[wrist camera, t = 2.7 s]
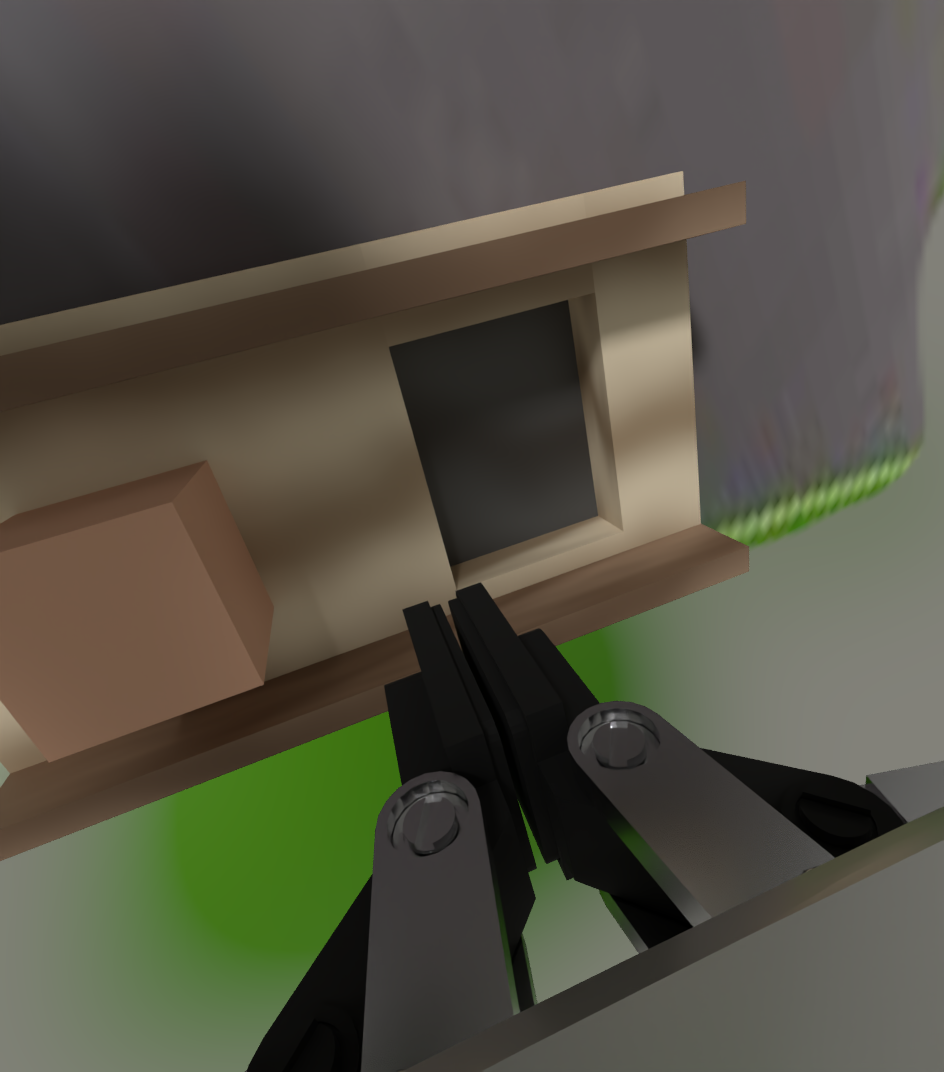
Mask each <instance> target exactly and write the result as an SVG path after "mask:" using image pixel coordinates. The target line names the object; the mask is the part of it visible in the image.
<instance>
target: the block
mask: <svg viewBox="0 0 944 1072" xmlns="http://www.w3.org/2000/svg"><path fill="white" fill-rule="evenodd" d="M273 612H274V606H273V604H272V602H271V599H270V597H269V595H268V593H267V591H266V588H265V586H264V584H263V582H262V580H261V577H260V575H259V573H258V571H257V569H256V566H255V564H254V562H253V560H252V558H251V555H250V553H249V551H248V549H247V547H246V545H245V542H244V540H243V538H242V536H241V534H240V531H239V529H238V527H237V525H236V523H235V520H234V518H233V516H232V514H231V512H230V509H229V507H228V505H227V503H226V501H225V498H224V496H223V494H222V492H221V490H220V488H219V485H218V483H217V481H216V479H215V477H214V474H213V472H212V470H211V468H210V466H209V463H208V461H207V460H206V461H202V462H199V463H195V464H192V465H188V466H185V467H181V468H178V469H174V470H171V471H167V472H164V473H160V474H157V475H153V476H149V477H146V478H142V479H139V480H135V481H132V482H128V483H125V484H121V485H118V486H114V487H111V488H107V489H104V490H100V491H97V492H93V493H90V494H86V495H83V496H79V497H76V498H72V499H68V500H65V501H61V502H58V503H54V504H51V505H47V506H44V507H40V508H37V509H33V510H30V511H26V512H23V513H19V514H16V515H14V516H12V517H10V518H9V519H7V520H5V521H4V522H2V523H0V701H1V702H2V703H3V705H4V706H5V707H6V708H7V710H8V711H9V712H10V714H11V715H12V716H13V717H14V719H15V720H16V721H17V722H18V724H19V725H20V726H21V728H22V729H23V730H24V731H25V733H26V734H27V735H28V737H29V738H30V739H31V740H32V742H33V743H34V744H35V745H36V747H37V748H38V749H39V751H40V752H41V753H42V754H43V756H44V757H45V758H46V760H47V761H48V762H52V761H55V760H58V759H60V758H63V757H66V756H69V755H71V754H74V753H77V752H80V751H82V750H85V749H88V748H91V747H93V746H96V745H99V744H102V743H104V742H107V741H110V740H113V739H115V738H118V737H121V736H124V735H126V734H129V733H132V732H135V731H138V730H140V729H143V728H146V727H149V726H151V725H154V724H157V723H160V722H162V721H165V720H168V719H171V718H173V717H176V716H179V715H182V714H184V713H187V712H190V711H193V710H195V709H198V708H201V707H204V706H206V705H209V704H212V703H215V702H217V701H220V700H223V699H226V698H228V697H231V696H234V695H237V694H240V693H242V692H245V691H248V690H251V689H253V688H256V687H259V686H262V685H264V679H265V672H266V664H267V657H268V649H269V642H270V634H271V627H272V619H273Z"/></svg>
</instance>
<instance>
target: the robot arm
mask: <svg viewBox="0 0 944 1072" xmlns="http://www.w3.org/2000/svg"><path fill="white" fill-rule="evenodd" d="M456 597H457V598H455V599H452V600H449V601H448V604H449V608H450V612H451V615H452V618H453V622H454V625H455V629H456V632H457V635H458V639H459V642H460V646H461V648H460V646H459V643H458V641H457V639H456V637H455V635H454V633H453V630H452V628H451V626H450V624H449V622H448V620H447V617H446V615H445V613H444V611H443V609H442V607H441V605H440V604H438V605H435V606H432V607H430V605H429V602H428V601H425V602H422V603H419V604H416V605H413V606H411V607H408V608H405V609H402V611H403V614H404V617H405V620H406V624H407V627H408V630H409V633H410V637H411V640H412V643H413V647H414V650H415V653H416V656H417V660H418V663H419V666H420V669H421V672H418V673H416V674H413V675H410V676H407V677H405V678H402V679H399V680H396V681H394V682H391V683H388V684H386V685H384V689H385V695H386V701H387V706H388V712H389V717H390V723H391V728H392V734H393V739H394V744H395V750H396V756H397V761H398V767H399V772H400V778H401V783H402V786H401V787H399V788H398V789H397V790H396V791H395V792H394V793H393V794H392V795H391V797H390V798H389V799H388V800H387V801H386V803H385V805H384V806H383V808H382V810H381V812H380V814H379V816H378V821H377V826H376V829H375V843H374V860H373V874H372V875H371V877H370V879H369V880H368V881H367V883H366V884H365V886H364V887H363V889H362V890H361V892H360V893H359V895H358V896H357V898H356V899H355V901H354V902H353V904H352V905H351V907H350V908H349V910H348V911H347V913H346V914H345V916H344V917H343V919H342V921H341V922H340V923H339V925H338V927H337V928H336V930H335V931H334V932H333V934H332V936H331V937H330V939H329V940H328V942H327V943H326V945H325V946H324V948H323V949H322V951H321V952H320V954H319V955H318V957H317V958H316V960H315V961H314V963H313V964H312V966H311V967H310V969H309V970H308V972H307V973H306V975H305V976H304V978H303V979H302V981H301V982H300V984H299V985H298V987H297V988H296V990H295V991H294V993H293V994H292V996H291V997H290V999H289V1000H288V1002H287V1003H286V1005H285V1006H284V1008H283V1009H282V1011H281V1012H280V1014H279V1015H278V1017H277V1018H276V1020H275V1022H274V1023H273V1025H272V1026H271V1027H270V1029H269V1031H268V1032H267V1034H266V1035H265V1037H264V1038H263V1040H262V1042H261V1044H260V1045H259V1047H258V1049H257V1051H256V1053H255V1055H254V1057H253V1058H252V1060H251V1062H250V1064H249V1066H248V1069H247V1070H246V1071H245V1072H944V761H941V762H935V763H929V764H925V765H919V766H914V767H908V768H903V769H898V770H892V771H887V772H882V773H877V774H871V775H866V784H865V785H857V784H855V783H853V782H850V781H847V780H844V779H841V778H838V777H834V776H831V775H826V774H821V773H817V772H811V771H807V770H802V769H797V768H792V767H788V766H783V765H778V764H774V763H769V762H764V761H760V760H755V759H750V758H745V757H741V756H736V755H731V754H726V753H721V752H717V751H712V750H707V749H702V748H699V747H698V746H697V745H695V744H694V743H693V742H692V741H690V740H689V739H688V738H687V737H686V736H684V735H683V734H682V733H681V732H679V731H678V730H677V729H676V728H674V727H673V726H672V725H671V724H670V723H668V722H667V721H666V720H665V719H663V718H662V717H661V716H660V715H658V714H657V713H655V712H654V711H652V710H650V709H649V708H647V707H645V706H642V705H639V704H635V703H632V702H623V701H612V702H605V703H599V702H598V700H597V699H596V698H595V697H594V695H593V694H592V693H591V691H590V690H589V689H588V688H587V686H586V685H585V684H584V683H583V681H582V680H581V679H580V677H579V676H578V675H577V674H576V672H575V671H574V670H573V669H572V667H571V666H570V665H569V663H568V662H567V661H566V659H565V658H564V657H563V656H562V654H561V653H560V652H559V651H558V649H557V648H556V647H555V645H554V644H553V643H552V642H551V640H550V639H549V638H548V636H547V635H546V634H545V633H544V632H543V631H542V630H541V629H539V628H538V629H535V630H532V631H530V632H527V633H524V634H521V635H519V636H517V634H516V633H515V631H514V630H513V628H512V627H511V625H510V624H509V622H508V621H507V619H506V618H505V617H504V615H503V614H502V612H501V611H500V609H499V608H498V606H497V605H496V603H495V602H494V600H493V599H492V597H491V596H490V594H489V593H488V592H487V590H486V589H485V587H484V586H483V584H482V583H481V582H480V583H477V584H474V585H471V586H468V587H465V588H463V589H460V590H457V591H456ZM461 649H462V650H461ZM518 801H519V803H520V805H521V808H522V810H523V812H524V815H525V817H526V819H527V822H528V824H529V826H530V829H531V831H532V833H533V836H534V838H535V840H536V842H537V845H538V847H539V849H540V851H541V854H542V856H543V858H544V860H545V862H546V864H548V863H550V862H552V861H555V860H558V862H559V864H560V867H561V869H562V871H563V873H564V875H565V877H566V880H569V879H571V878H573V877H574V880H575V881H578V882H580V883H583V884H586V885H588V886H591V887H594V888H596V889H599V892H600V895H601V897H602V899H603V901H604V903H605V905H606V907H607V908H608V910H609V911H610V913H611V914H612V915H613V917H614V918H615V919H616V921H617V923H618V924H619V925H620V927H621V928H622V930H623V931H624V933H625V934H626V936H627V937H628V939H629V940H630V941H631V943H632V944H633V946H634V947H635V949H636V950H637V952H638V953H639V954H638V955H636V956H634V957H632V958H630V959H628V960H626V961H623V962H621V963H619V964H618V965H616V966H613V967H611V968H609V969H608V970H605V971H603V972H601V973H599V974H597V975H595V976H593V977H591V978H589V979H587V980H585V981H583V982H581V983H579V984H577V985H575V986H573V987H571V988H569V989H567V990H565V991H563V992H561V993H559V994H557V995H555V996H553V997H550V998H549V999H547V1000H544V1001H543V1002H540V1003H537V998H536V994H535V988H534V983H533V978H532V973H531V968H530V963H529V958H528V953H527V947H526V943H525V940H524V937H523V934H522V932H523V929H524V927H525V924H526V922H527V919H528V917H529V914H530V912H531V909H532V907H533V904H534V901H535V899H536V897H535V894H534V891H533V887H532V884H531V881H530V877H529V874H528V872H530V871H532V870H534V869H536V868H537V867H536V863H535V859H534V856H533V852H532V849H531V845H530V842H529V838H528V835H527V831H526V827H525V824H524V820H523V817H522V813H521V810H520V806H519V803H518Z"/></svg>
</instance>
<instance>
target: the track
mask: <svg viewBox="0 0 944 1072" xmlns="http://www.w3.org/2000/svg"><path fill="white" fill-rule="evenodd" d="M743 224H746V181H743V182H738V183H734V184H730V185H726V186H721V187H717V188H713V189H709V190H704V191H700V192H696V193H691V194H687V195H684V183H683V171H681V172H676V173H672V174H667V175H663V176H659V177H654V178H650V179H645V180H641V181H636V182H632V183H627V184H623V185H619V186H614V187H610V188H605V189H601V190H596V191H592V192H588V193H583V194H579V195H574V196H570V197H565V198H561V199H557V200H552V201H548V202H543V203H539V204H534V205H530V206H526V207H521V208H517V209H512V210H508V211H503V212H499V213H495V214H490V215H486V216H481V217H477V218H472V219H468V220H464V221H459V222H455V223H450V224H446V225H441V226H437V227H432V228H428V229H424V230H419V231H415V232H410V233H406V234H401V235H397V236H393V237H388V238H384V239H379V240H375V241H370V242H366V243H362V244H357V245H353V246H348V247H344V248H339V249H335V250H331V251H326V252H322V253H317V254H313V255H308V256H304V257H300V258H295V259H291V260H286V261H282V262H277V263H273V264H269V265H264V266H260V267H255V268H251V269H246V270H242V271H238V272H233V273H229V274H224V275H220V276H215V277H211V278H206V279H202V280H198V281H193V282H189V283H184V284H180V285H175V286H171V287H167V288H162V289H158V290H153V291H149V292H144V293H140V294H136V295H131V296H127V297H122V298H118V299H113V300H109V301H105V302H100V303H96V304H91V305H87V306H82V307H78V308H74V309H69V310H65V311H60V312H56V313H51V314H47V315H43V316H38V317H34V318H29V319H25V320H20V321H16V322H11V323H7V324H3V325H0V523H2V522H4V521H5V520H7V519H9V518H10V517H12V516H14V515H16V514H19V513H23V512H26V511H30V510H33V509H37V508H40V507H44V506H47V505H51V504H54V503H58V502H61V501H65V500H68V499H72V498H76V497H79V496H83V495H86V494H90V493H93V492H97V491H100V490H104V489H107V488H111V487H114V486H118V485H121V484H125V483H128V482H132V481H135V480H139V479H142V478H146V477H149V476H153V475H157V474H160V473H164V472H167V471H171V470H174V469H178V468H181V467H185V466H188V465H192V464H195V463H199V462H202V461H206V460H207V461H208V463H209V466H210V468H211V470H212V472H213V474H214V477H215V479H216V481H217V483H218V485H219V488H220V490H221V492H222V494H223V496H224V498H225V501H226V503H227V505H228V507H229V509H230V512H231V514H232V516H233V518H234V520H235V523H236V525H237V527H238V529H239V531H240V534H241V536H242V538H243V540H244V542H245V545H246V547H247V549H248V551H249V553H250V555H251V558H252V560H253V562H254V564H255V566H256V569H257V571H258V573H259V575H260V577H261V580H262V582H263V584H264V586H265V588H266V591H267V593H268V595H269V597H270V599H271V602H272V604H273V606H274V612H273V619H272V627H271V634H270V642H269V649H268V657H267V664H266V672H265V679H264V685H262V686H259V687H256V688H253V689H251V690H248V691H245V692H242V693H240V694H237V695H234V696H231V697H228V698H226V699H223V700H220V701H217V702H215V703H212V704H209V705H206V706H204V707H201V708H198V709H195V710H193V711H190V712H187V713H184V714H182V715H179V716H176V717H173V718H171V719H168V720H165V721H162V722H160V723H157V724H154V725H151V726H149V727H146V728H143V729H140V730H138V731H135V732H132V733H129V734H126V735H124V736H121V737H118V738H115V739H113V740H110V741H107V742H104V743H102V744H99V745H96V746H93V747H91V748H88V749H85V750H82V751H80V752H77V753H74V754H71V755H69V756H66V757H63V758H60V759H58V760H55V761H52V762H48V761H47V760H46V758H45V757H44V756H43V754H42V753H41V752H40V751H39V749H38V748H37V747H36V745H35V744H34V743H33V742H32V740H31V739H30V738H29V737H28V735H27V734H26V733H25V731H24V730H23V729H22V728H21V726H20V725H19V724H18V722H17V721H16V720H15V719H14V717H13V716H12V715H11V714H10V712H9V711H8V710H7V708H6V707H5V706H4V705H3V703H2V702H1V701H0V861H2V860H4V859H7V858H9V857H12V856H15V855H17V854H20V853H22V852H25V851H27V850H30V849H33V848H35V847H38V846H40V845H43V844H46V843H48V842H51V841H53V840H56V839H58V838H61V837H63V836H66V835H69V834H71V833H74V832H76V831H79V830H82V829H84V828H87V827H89V826H92V825H95V824H97V823H100V822H102V821H104V820H107V819H110V818H112V817H115V816H118V815H120V814H123V813H126V812H128V811H131V810H133V809H136V808H139V807H141V806H144V805H146V804H149V803H151V802H154V801H157V800H159V799H162V798H164V797H167V796H170V795H172V794H175V793H177V792H180V791H182V790H185V789H188V788H190V787H193V786H195V785H198V784H201V783H203V782H206V781H208V780H211V779H213V778H216V777H219V776H221V775H223V774H226V773H229V772H232V771H234V770H237V769H239V768H242V767H245V766H247V765H249V764H252V763H255V762H257V761H260V760H263V759H265V758H268V757H270V756H273V755H276V754H278V753H281V752H283V751H286V750H288V749H291V748H294V747H296V746H299V745H301V744H304V743H307V742H309V741H311V740H314V739H317V738H319V737H322V736H325V735H327V734H330V733H332V732H335V731H338V730H340V729H342V728H345V727H348V726H350V725H353V724H356V723H358V722H361V721H363V720H366V719H368V718H371V717H373V716H376V715H379V714H381V713H384V712H387V711H388V706H387V701H386V695H385V689H384V685H386V684H388V683H391V682H394V681H396V680H399V679H402V678H405V677H407V676H410V675H413V674H416V673H418V672H421V669H420V666H419V663H418V660H417V656H416V653H415V650H414V647H413V643H412V640H411V637H410V633H409V630H408V627H407V624H406V620H405V617H404V614H403V611H402V609H405V608H408V607H411V606H413V605H416V604H419V603H422V602H425V601H428V602H429V605H430V607H432V606H435V605H438V604H440V605H441V607H442V609H443V611H444V613H445V615H446V617H447V620H448V622H449V624H450V626H451V628H452V630H453V633H454V635H455V637H456V639H457V641H458V643H459V646H460V642H459V639H458V635H457V632H456V629H455V625H454V622H453V618H452V615H451V612H450V608H449V604H448V601H449V600H452V599H455V598H457V597H456V591H457V590H460V589H463V588H465V587H468V586H471V585H474V584H477V583H480V582H481V583H482V584H483V586H484V587H485V589H486V590H487V592H488V593H489V594H490V596H491V597H492V599H493V600H494V602H495V603H496V605H497V606H498V608H499V609H500V611H501V612H502V614H503V615H504V617H505V618H506V619H507V621H508V622H509V624H510V625H511V627H512V628H513V630H514V631H515V633H516V634H517V636H519V635H521V634H524V633H527V632H530V631H532V630H535V629H538V628H539V629H541V630H542V631H543V632H544V633H545V634H546V635H547V636H548V638H549V639H550V640H551V642H552V643H553V644H554V645H555V646H557V645H560V644H562V643H565V642H567V641H570V640H573V639H575V638H578V637H580V636H583V635H586V634H588V633H590V632H593V631H596V630H598V629H601V628H604V627H606V626H609V625H611V624H614V623H616V622H619V621H622V620H624V619H627V618H629V617H632V616H634V615H637V614H640V613H642V612H645V611H647V610H650V609H653V608H655V607H658V606H660V605H663V604H666V603H668V602H671V601H673V600H676V599H679V598H681V597H684V596H686V595H688V594H691V593H694V592H696V591H699V590H701V589H704V588H707V587H710V586H712V585H715V584H717V583H720V582H722V581H725V580H728V579H730V578H733V577H735V576H738V575H741V574H743V573H746V572H748V571H749V546H747V545H744V544H742V543H740V542H738V541H736V540H734V539H732V538H730V537H728V536H726V535H723V534H721V533H719V532H717V531H715V530H713V529H711V528H709V527H707V526H704V525H702V524H701V519H700V499H699V479H698V459H697V440H696V420H695V400H694V381H693V361H692V341H691V321H690V302H689V282H688V262H687V243H686V239H689V238H693V237H697V236H701V235H704V234H708V233H712V232H716V231H720V230H723V229H727V228H731V227H735V226H739V225H743ZM460 648H461V646H460ZM461 650H462V649H461Z"/></svg>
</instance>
